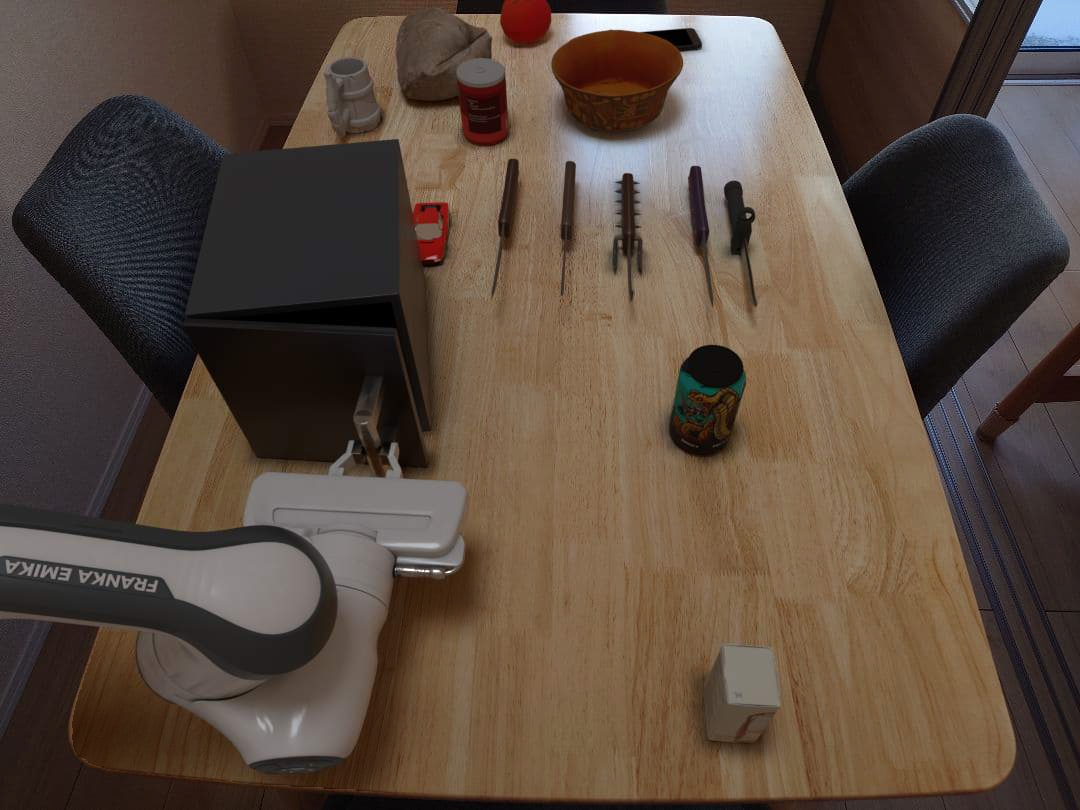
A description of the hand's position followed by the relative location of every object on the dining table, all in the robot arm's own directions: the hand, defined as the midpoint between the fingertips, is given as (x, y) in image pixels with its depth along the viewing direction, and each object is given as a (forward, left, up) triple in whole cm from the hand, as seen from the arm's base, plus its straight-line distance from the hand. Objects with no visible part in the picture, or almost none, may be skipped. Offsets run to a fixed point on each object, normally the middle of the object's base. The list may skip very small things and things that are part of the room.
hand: (374, 444), depth 75 cm
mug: (+75, +7, -11) cm, 76 cm away
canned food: (+70, -15, -11) cm, 72 cm away
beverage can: (+5, -35, -11) cm, 37 cm away
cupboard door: (+3, +6, -11) cm, 13 cm away
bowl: (+72, -37, -11) cm, 81 cm away
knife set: (+37, -32, -11) cm, 50 cm away
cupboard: (+22, +6, -11) cm, 25 cm away
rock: (+86, -9, -11) cm, 87 cm away
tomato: (+101, -25, -11) cm, 104 cm away
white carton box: (-26, -30, -11) cm, 42 cm away
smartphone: (+95, -50, -11) cm, 108 cm away
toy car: (+44, -5, -11) cm, 45 cm away
